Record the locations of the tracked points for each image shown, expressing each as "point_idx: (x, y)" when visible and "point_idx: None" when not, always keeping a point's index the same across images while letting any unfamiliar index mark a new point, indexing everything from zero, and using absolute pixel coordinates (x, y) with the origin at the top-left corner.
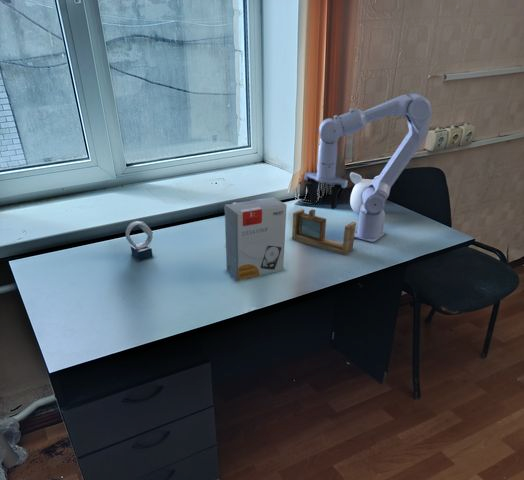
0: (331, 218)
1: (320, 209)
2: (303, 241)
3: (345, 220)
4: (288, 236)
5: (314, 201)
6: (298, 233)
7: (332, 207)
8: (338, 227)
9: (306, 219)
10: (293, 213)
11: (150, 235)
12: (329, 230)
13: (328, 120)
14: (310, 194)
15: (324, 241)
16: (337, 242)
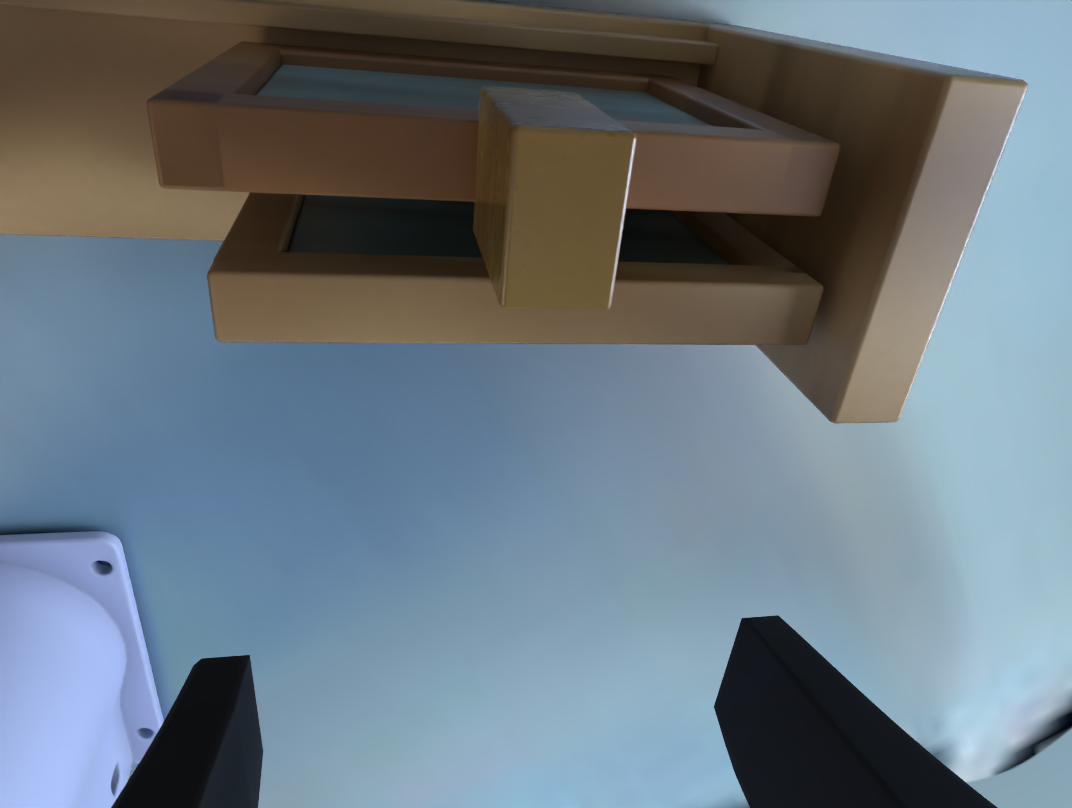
0: (567, 731)
1: (727, 794)
2: (545, 7)
3: (435, 767)
4: None
5: (741, 696)
6: None
7: (203, 681)
8: (405, 633)
9: (637, 122)
10: (1016, 81)
11: None
12: (445, 531)
13: None
14: (928, 784)
15: None
16: (43, 212)
